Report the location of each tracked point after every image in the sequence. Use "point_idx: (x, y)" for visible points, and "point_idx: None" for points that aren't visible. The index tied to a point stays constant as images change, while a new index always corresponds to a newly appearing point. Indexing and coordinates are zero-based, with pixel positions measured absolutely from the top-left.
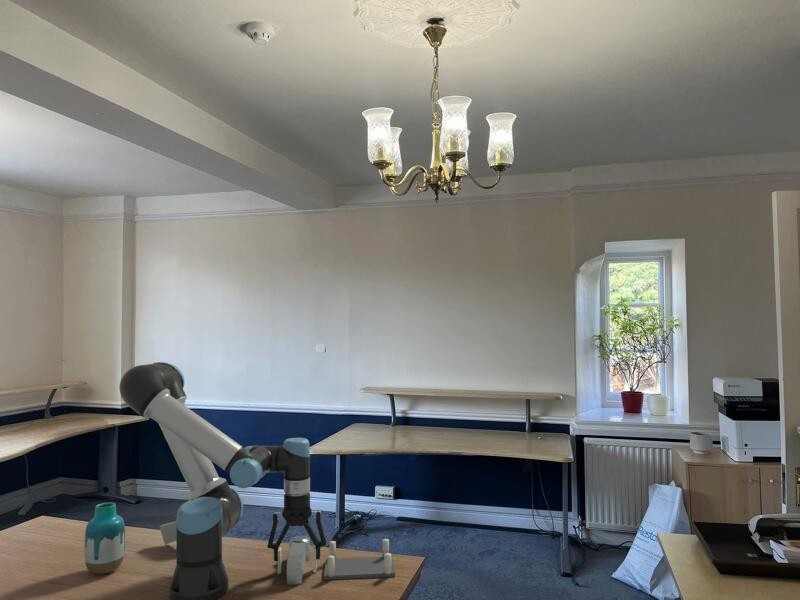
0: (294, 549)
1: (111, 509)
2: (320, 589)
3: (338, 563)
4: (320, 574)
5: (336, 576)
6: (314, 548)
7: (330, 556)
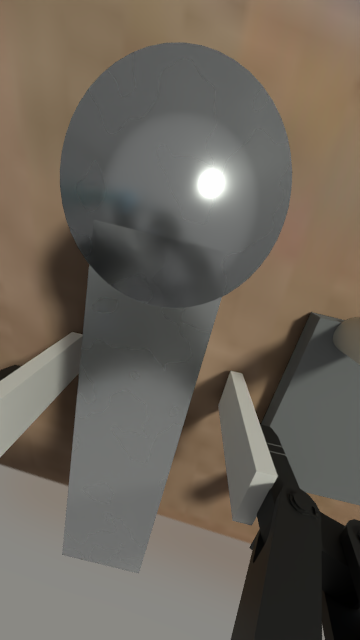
0: (105, 421)
1: None
2: (213, 512)
3: (357, 395)
4: None
5: None
6: (246, 512)
7: None
